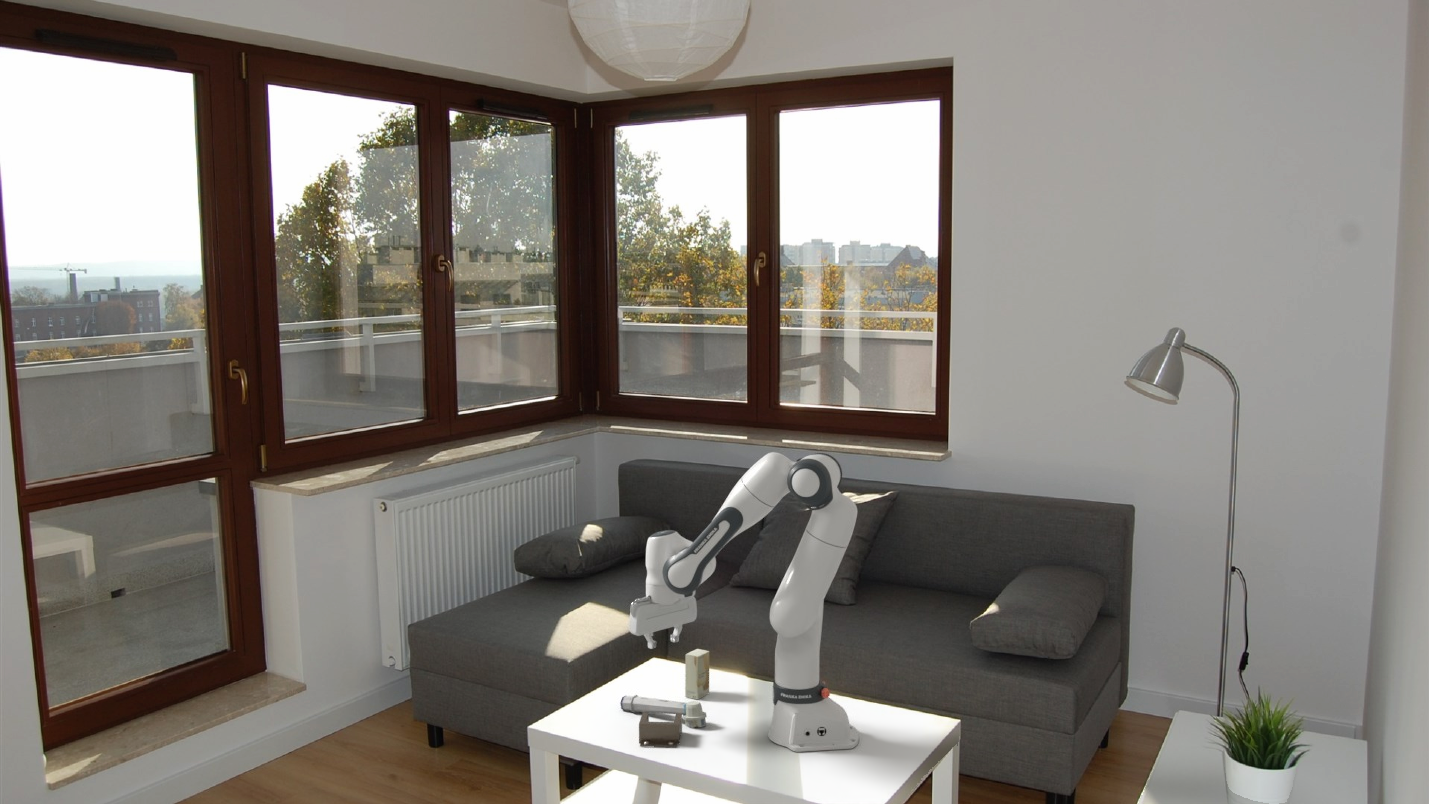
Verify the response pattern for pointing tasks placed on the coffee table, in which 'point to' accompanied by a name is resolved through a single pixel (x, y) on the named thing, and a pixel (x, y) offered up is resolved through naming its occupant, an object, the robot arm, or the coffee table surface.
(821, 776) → the coffee table surface
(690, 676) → the skincare box
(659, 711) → the white handheld device
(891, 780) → the coffee table surface
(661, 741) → the bracket
